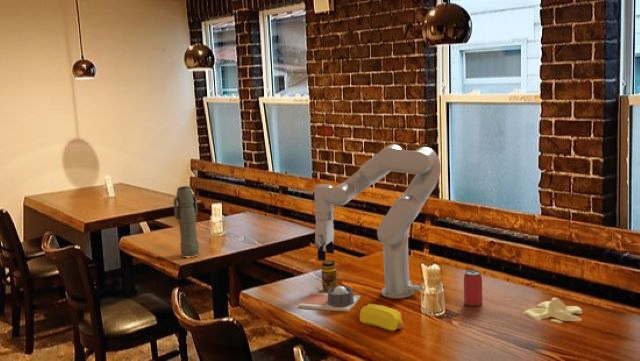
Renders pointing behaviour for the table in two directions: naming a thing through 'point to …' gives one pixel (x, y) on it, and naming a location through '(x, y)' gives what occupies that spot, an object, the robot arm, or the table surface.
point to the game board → (326, 307)
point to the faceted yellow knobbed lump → (381, 317)
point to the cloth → (554, 311)
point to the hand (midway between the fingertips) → (326, 256)
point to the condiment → (328, 276)
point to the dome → (340, 290)
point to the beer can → (473, 288)
